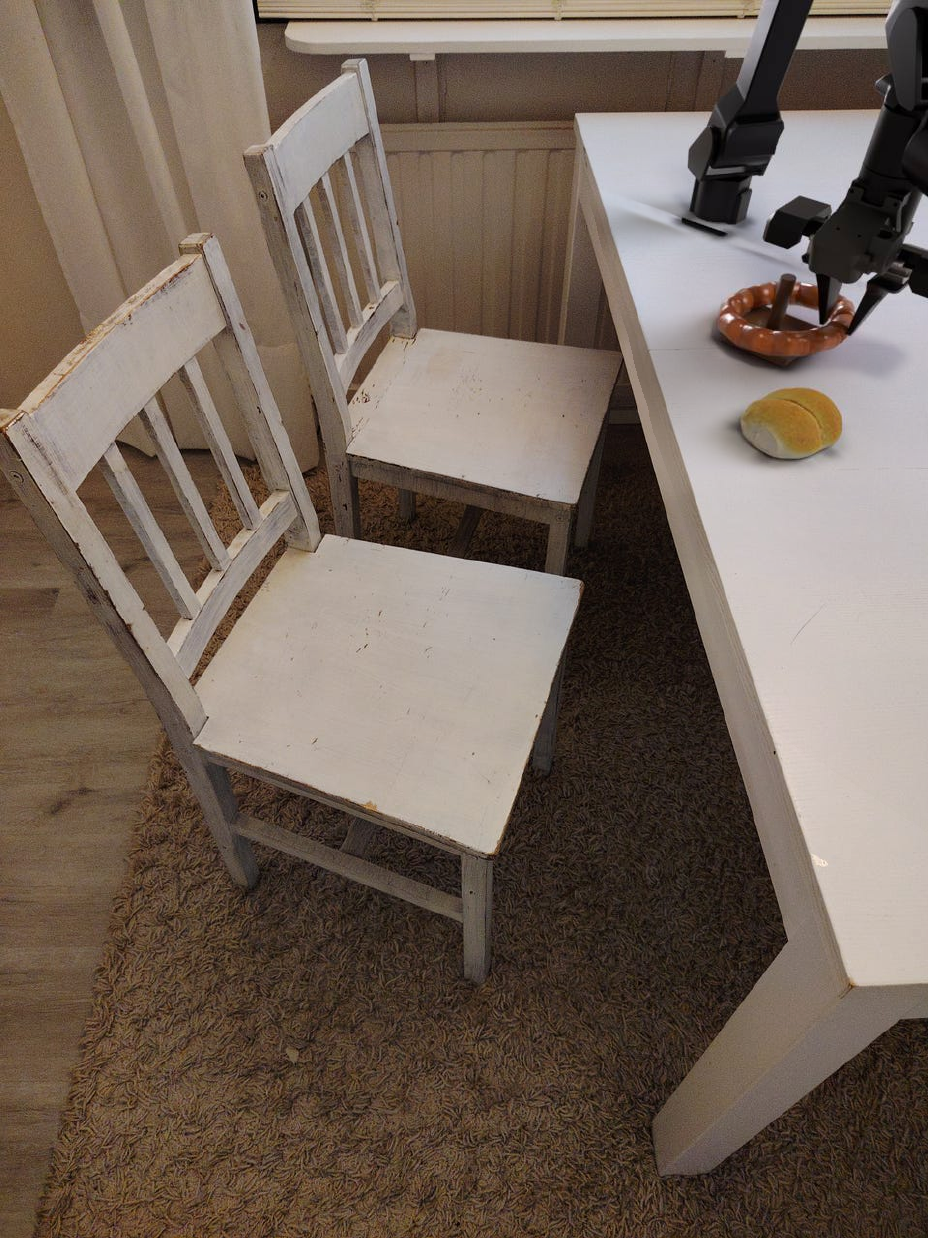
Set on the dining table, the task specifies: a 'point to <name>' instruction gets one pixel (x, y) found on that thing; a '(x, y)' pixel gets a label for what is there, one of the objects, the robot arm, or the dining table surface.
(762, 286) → the segmented orange ring
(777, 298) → the stand
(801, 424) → the bread roll
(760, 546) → the dining table surface
